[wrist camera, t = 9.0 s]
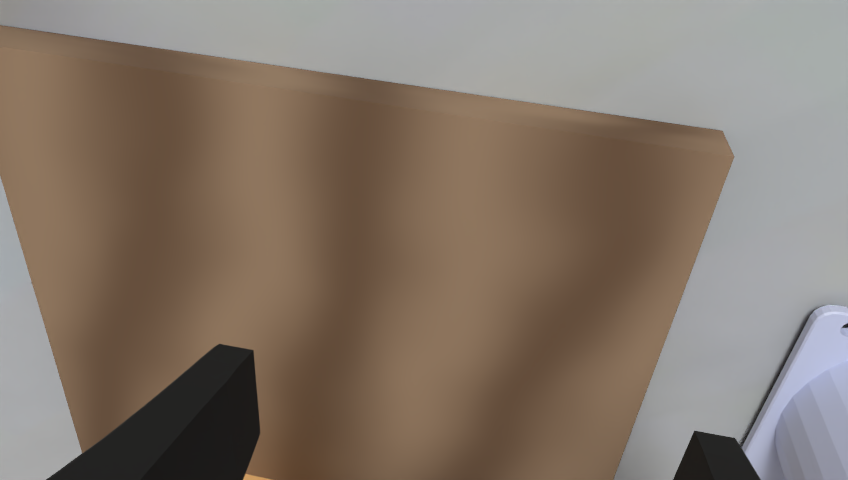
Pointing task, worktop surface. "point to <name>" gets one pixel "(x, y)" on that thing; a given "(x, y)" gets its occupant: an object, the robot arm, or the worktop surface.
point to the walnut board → (351, 255)
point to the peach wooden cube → (254, 477)
